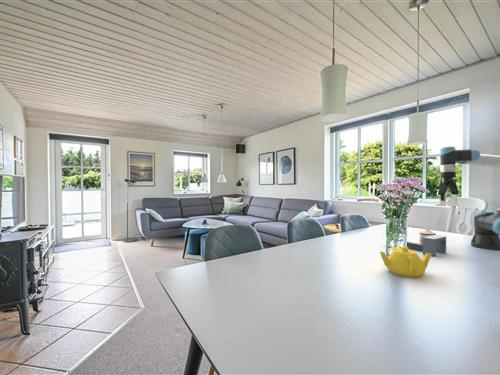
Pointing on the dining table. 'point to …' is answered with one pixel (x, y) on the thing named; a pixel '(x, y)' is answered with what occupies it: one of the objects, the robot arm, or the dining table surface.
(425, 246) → the housing
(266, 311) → the dining table surface
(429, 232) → the teacup with lid
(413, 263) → the teapot
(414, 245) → the plug
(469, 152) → the robot arm
